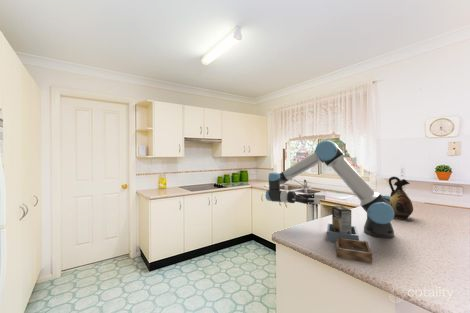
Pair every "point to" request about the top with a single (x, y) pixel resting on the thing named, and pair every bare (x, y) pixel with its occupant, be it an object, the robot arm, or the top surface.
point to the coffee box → (341, 219)
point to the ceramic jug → (400, 199)
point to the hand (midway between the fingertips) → (322, 199)
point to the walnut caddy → (353, 253)
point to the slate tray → (341, 234)
